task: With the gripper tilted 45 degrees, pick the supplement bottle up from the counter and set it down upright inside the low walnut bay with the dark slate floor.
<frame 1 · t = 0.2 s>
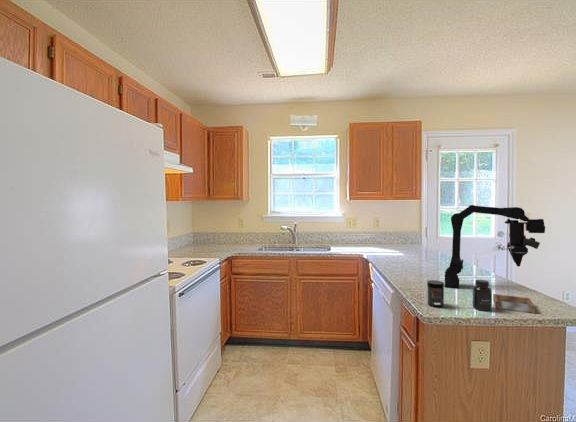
hand: (517, 264, 144), 15 cm above the worktop, tool pointing down, fingers open, 9 cm apart
bay: (512, 306, 127), on the worktop
supplement container: (435, 305, 131), on the worktop
supplement bottle: (482, 309, 126), on the worktop
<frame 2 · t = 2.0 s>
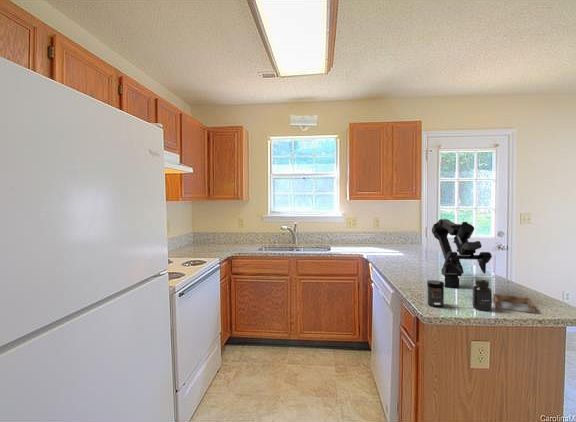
hand: (473, 273, 133), 13 cm above the worktop, tool tilted 45°, fingers open, 9 cm apart
nothing on the worktop moved.
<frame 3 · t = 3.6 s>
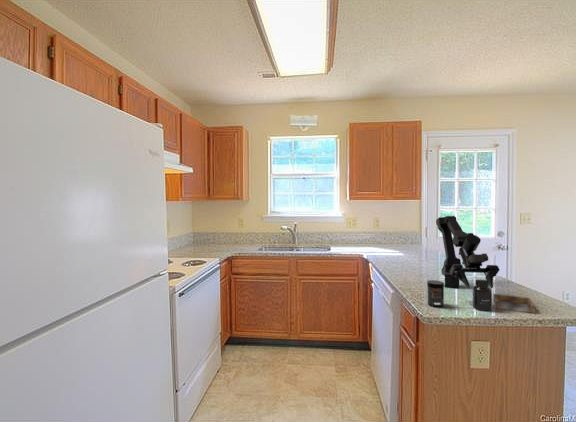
hand: (480, 287, 127), 9 cm above the worktop, tool tilted 45°, fingers open, 9 cm apart
nothing on the worktop moved.
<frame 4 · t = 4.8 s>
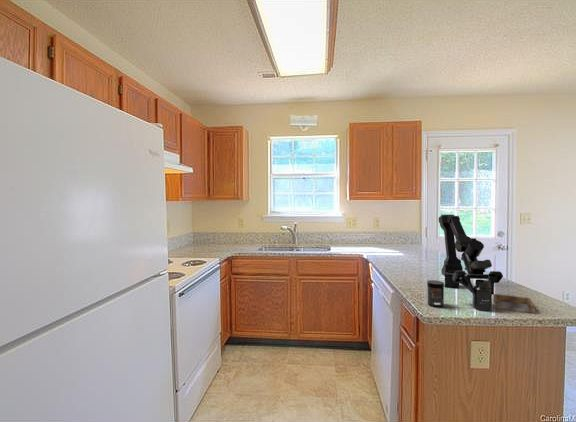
hand: (483, 294, 124), 7 cm above the worktop, tool tilted 45°, fingers closed on supplement bottle, 7 cm apart
supplement bottle: (482, 309, 126), on the worktop, touching gripper
everything else where it was.
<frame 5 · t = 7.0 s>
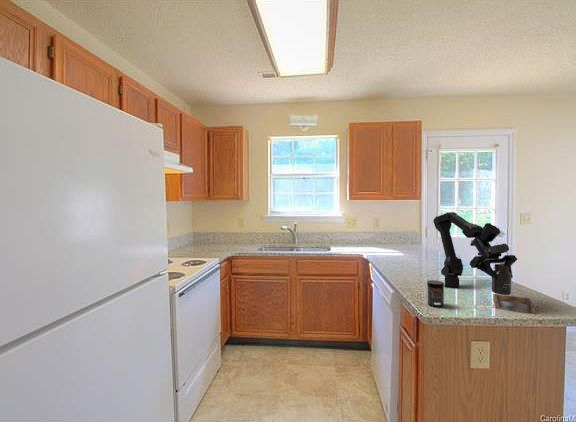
hand: (503, 278, 124), 13 cm above the worktop, tool tilted 45°, fingers closed on supplement bottle, 7 cm apart
supplement bottle: (501, 293, 126), point 6 cm above the worktop, touching gripper
everything else where it was.
when the fingers open (8 cm above the worktop, at t = 9.2 s): supplement bottle drops 1 cm, resting on bay.
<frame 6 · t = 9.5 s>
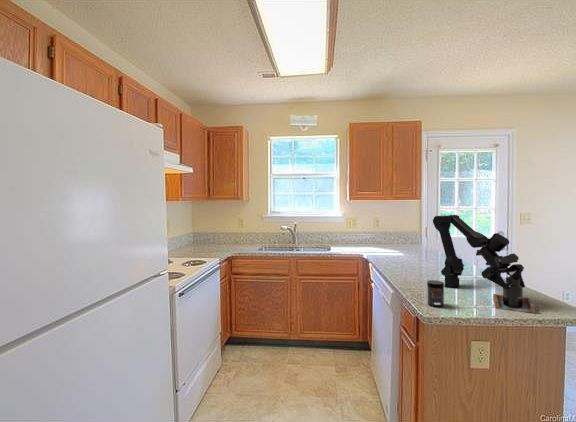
hand: (516, 288, 125), 9 cm above the worktop, tool tilted 45°, fingers open, 9 cm apart
supplement bottle: (512, 306, 127), resting on bay
everything else where it was.
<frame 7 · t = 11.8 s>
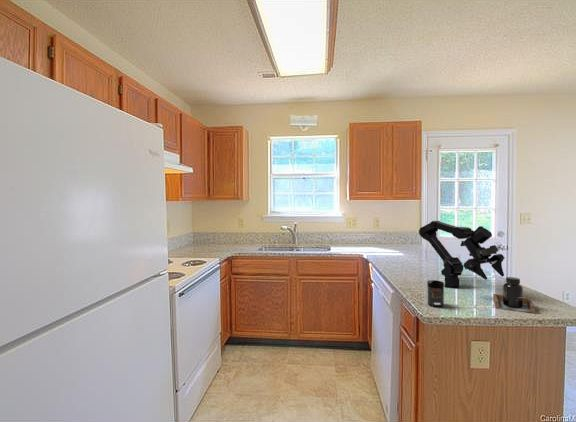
hand: (494, 277, 136), 11 cm above the worktop, tool tilted 40°, fingers open, 9 cm apart
nothing on the worktop moved.
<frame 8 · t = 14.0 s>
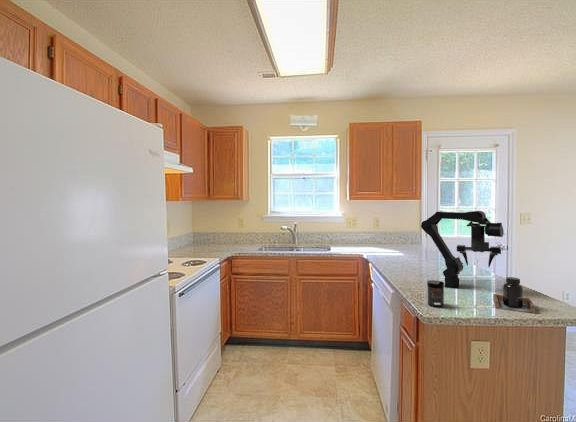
hand: (478, 266, 149), 13 cm above the worktop, tool pointing down, fingers open, 9 cm apart
nothing on the worktop moved.
at the end: supplement bottle inside the target area on the bay (0.3 cm from its centre), point 0.2 cm above the bay's base; supplement bottle tilted 0°; the gripper is holding nothing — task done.
